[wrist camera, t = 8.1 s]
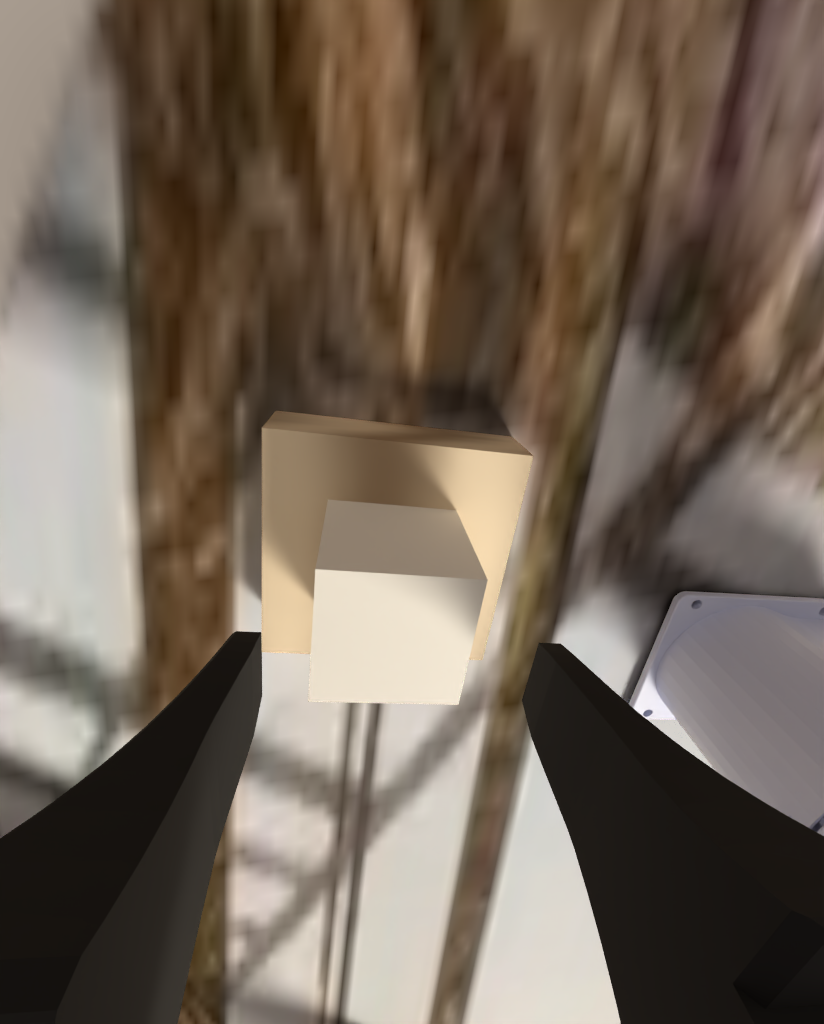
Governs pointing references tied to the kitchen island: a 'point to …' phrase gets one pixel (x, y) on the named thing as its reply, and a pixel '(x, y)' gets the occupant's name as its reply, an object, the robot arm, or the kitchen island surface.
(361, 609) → the cream cube
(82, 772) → the kitchen island surface
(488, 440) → the oak base block
